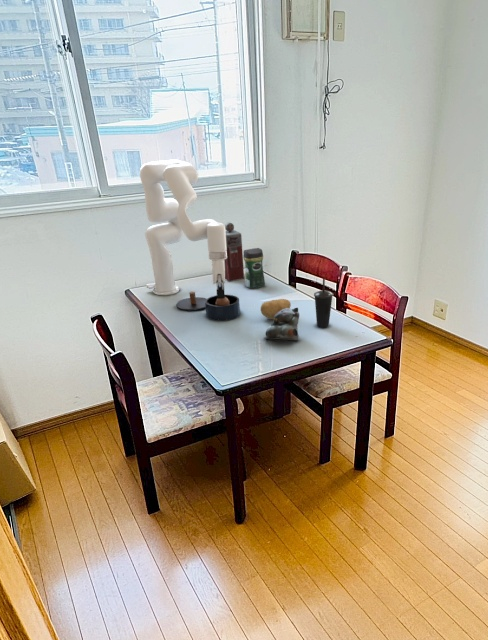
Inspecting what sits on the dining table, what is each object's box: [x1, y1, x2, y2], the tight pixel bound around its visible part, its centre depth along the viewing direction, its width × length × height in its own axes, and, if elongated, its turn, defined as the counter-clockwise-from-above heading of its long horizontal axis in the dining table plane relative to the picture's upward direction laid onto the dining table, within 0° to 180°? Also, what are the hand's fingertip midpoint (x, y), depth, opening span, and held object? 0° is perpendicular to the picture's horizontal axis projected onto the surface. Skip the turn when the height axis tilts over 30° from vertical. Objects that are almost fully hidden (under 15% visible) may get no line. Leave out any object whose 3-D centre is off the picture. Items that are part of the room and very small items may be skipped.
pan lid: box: [175, 291, 207, 311], centre depth 226 cm, size 16×16×6 cm
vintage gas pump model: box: [224, 221, 245, 282], centre depth 254 cm, size 9×11×28 cm
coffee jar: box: [243, 247, 266, 289], centre depth 245 cm, size 10×8×19 cm
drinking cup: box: [313, 277, 334, 329], centre depth 199 cm, size 8×8×20 cm
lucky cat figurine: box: [263, 307, 300, 342], centre depth 191 cm, size 15×12×14 cm
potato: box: [260, 298, 291, 320], centre depth 211 cm, size 10×14×8 cm
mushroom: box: [216, 297, 230, 306], centre depth 215 cm, size 6×6×8 cm
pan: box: [205, 294, 241, 322], centre depth 216 cm, size 15×15×6 cm
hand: (220, 294), depth 213 cm, fingers open, 9 cm apart
